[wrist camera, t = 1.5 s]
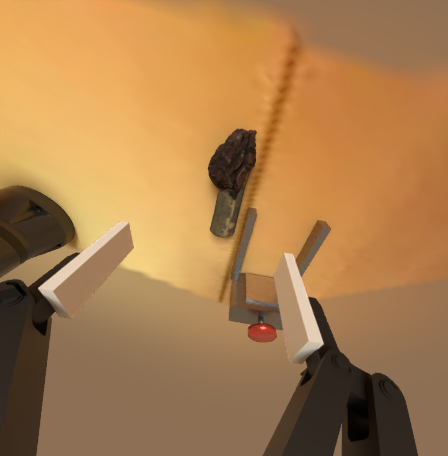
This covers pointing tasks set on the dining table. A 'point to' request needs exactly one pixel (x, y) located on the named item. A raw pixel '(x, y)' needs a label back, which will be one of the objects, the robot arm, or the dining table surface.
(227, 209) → the morel mushroom
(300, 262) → the cradle
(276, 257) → the dining table surface
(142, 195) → the dining table surface
